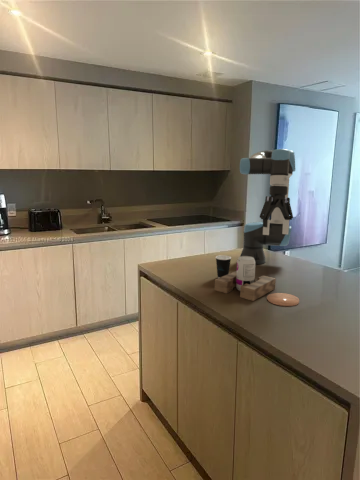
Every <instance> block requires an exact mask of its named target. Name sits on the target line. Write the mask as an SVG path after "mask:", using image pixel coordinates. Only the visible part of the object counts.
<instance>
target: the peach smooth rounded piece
mask: <svg viewBox="0 0 360 480" xmlns="http://www.w3.org/2000/svg"><path fill="white" fill-rule="evenodd" d="M266 298H267V301H268V302H269V303H271V304H274V305H276V306H281V307H294V306H297V305H299V304H300V299H299V297H297V296H295V295H294V294H290V293H285V292H273V293H270V294H268V295H267V297H266Z"/></svg>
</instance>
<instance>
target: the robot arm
mask: <svg viewBox="0 0 360 480" xmlns="http://www.w3.org/2000/svg"><path fill="white" fill-rule="evenodd" d="M295 155H296V154H295V152H294V151H293V150H291V149H290V150H289V149H286V148H277V149H271V150H266V149H265V150H261V151H258V152H255V153H253V154H252V155H251V156H250V157H243V158H240V160H239V161H240V162H239V172H240V174H242V175H269V185H270V187H269V192H268V193H269V195H270V196H265V200H264V201H265V202H264V204H263V207H262V209H261V211H260V214H259V218H260V220H262V221H256V222H249V223H246V224H245V225H244V227H243V241H242V242H243V243H242V244H243V246H242V250H241V253H240V255H239V257H240V256H250V257H253V258H254V260H255V265H262V264H266V259H267V258H266V255H265V251H264V245H265V246H274V247H275V246H279V247H286V246H288V245H289V243H290V238H291V233H292V226H291V225H290V221H291V220H293V219H294V215H293V211H292V207H291V199H290V197H289V189H290V187H289V186H290V179H291V177H292V176H293V172H296V157H295Z"/></svg>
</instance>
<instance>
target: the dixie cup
mask: <svg viewBox="0 0 360 480" xmlns="http://www.w3.org/2000/svg"><path fill="white" fill-rule="evenodd" d="M214 258H215V261H216V262H215V263H216V275H217V279H218V278H220V277H223V276H225V275H227V274H230V268H231V260H232V256H229V255H224V254H222V255H220V254H219V255H216V256H215V257H214Z"/></svg>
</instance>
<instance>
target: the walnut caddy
mask: <svg viewBox="0 0 360 480" xmlns="http://www.w3.org/2000/svg"><path fill="white" fill-rule="evenodd" d="M236 276H237V270H235V271H232V272H229V274H227V275H225V276H223V277H220V278H218V277H217V278H216V279H214V291H217V292H219V293H224V294H228V293H230V292H232V291H233V289H234V288H236ZM274 290H276V278H275V277H271V276H267V275H261V276H259V277H257V280H256V281H255V282H254V283H252V284H244V285H242V286H241V288H240V291H239V292H240V293H239V297H240V298H242V299H246V300H249V301H253V302H254V301H256V300H258V299H259V298H261V297H264V296H265V295H266V294H268V293H271V291H274Z"/></svg>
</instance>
